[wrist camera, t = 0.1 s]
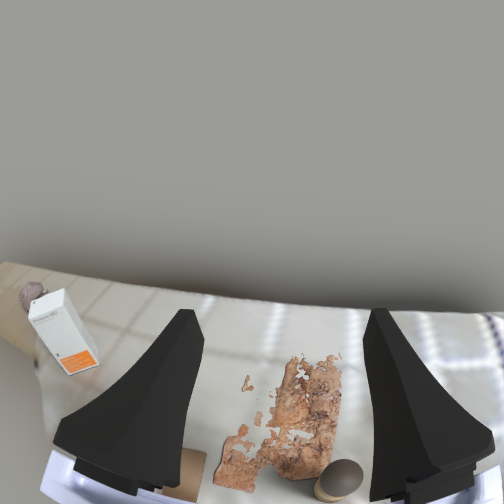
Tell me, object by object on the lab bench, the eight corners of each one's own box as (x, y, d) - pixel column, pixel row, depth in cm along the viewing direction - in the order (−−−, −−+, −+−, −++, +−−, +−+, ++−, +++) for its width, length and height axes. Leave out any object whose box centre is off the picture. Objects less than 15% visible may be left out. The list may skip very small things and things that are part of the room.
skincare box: (69, 377, 32) (26, 319, 26) (67, 357, 35) (29, 300, 29) (101, 365, 35) (63, 304, 28) (98, 346, 38) (64, 286, 32)
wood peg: (348, 501, 17) (364, 492, 14) (312, 504, 18) (320, 497, 15) (348, 472, 20) (362, 457, 17) (314, 474, 21) (321, 460, 18)
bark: (330, 499, 18) (331, 498, 18) (213, 485, 21) (212, 484, 20) (338, 343, 36) (339, 340, 36) (256, 338, 39) (255, 335, 38)
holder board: (189, 533, 15) (180, 532, 14) (76, 490, 17) (61, 483, 16) (206, 453, 24) (199, 445, 22) (100, 427, 26) (88, 416, 24)
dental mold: (21, 313, 44) (11, 295, 42) (39, 295, 50) (30, 277, 48) (39, 321, 43) (27, 302, 40) (58, 300, 48) (48, 281, 46)
